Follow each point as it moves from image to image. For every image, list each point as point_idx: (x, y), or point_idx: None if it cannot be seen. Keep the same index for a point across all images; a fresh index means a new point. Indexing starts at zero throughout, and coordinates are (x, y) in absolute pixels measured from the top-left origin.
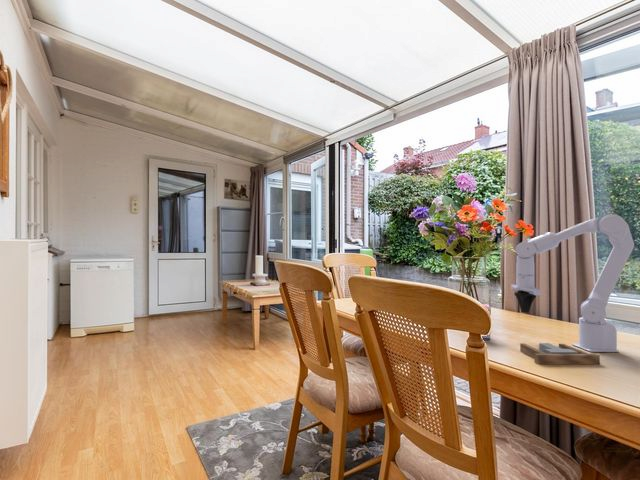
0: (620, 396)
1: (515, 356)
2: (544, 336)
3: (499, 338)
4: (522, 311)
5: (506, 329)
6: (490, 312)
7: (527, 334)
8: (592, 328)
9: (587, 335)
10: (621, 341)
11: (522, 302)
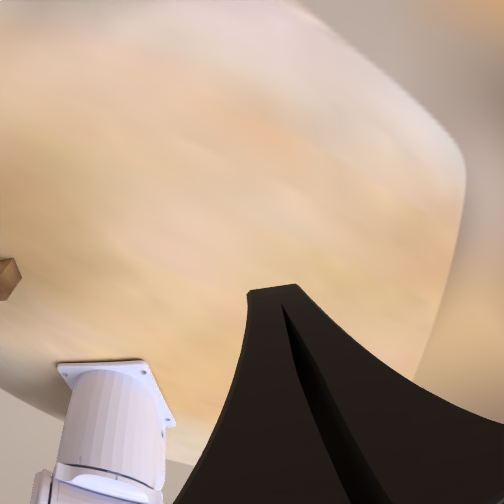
0: None
1: None
2: None
3: (219, 18)
4: (266, 293)
5: (438, 190)
6: None
7: (334, 255)
8: (59, 449)
9: (70, 416)
10: None
11: (243, 401)
